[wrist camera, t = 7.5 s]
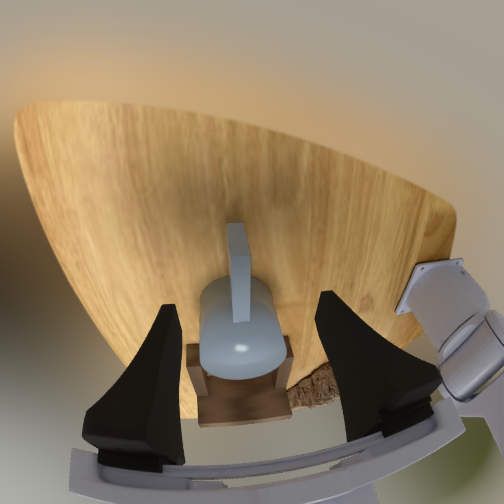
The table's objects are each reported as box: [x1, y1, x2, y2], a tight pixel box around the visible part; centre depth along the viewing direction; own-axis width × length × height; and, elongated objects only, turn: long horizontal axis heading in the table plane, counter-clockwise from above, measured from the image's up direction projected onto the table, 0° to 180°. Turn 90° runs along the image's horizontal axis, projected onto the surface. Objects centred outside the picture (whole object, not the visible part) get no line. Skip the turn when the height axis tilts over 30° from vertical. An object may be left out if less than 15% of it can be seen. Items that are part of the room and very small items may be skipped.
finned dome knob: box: [199, 222, 287, 380], centre depth 22 cm, size 7×13×6 cm, turn 179°
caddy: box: [186, 336, 294, 427], centre depth 29 cm, size 12×9×7 cm
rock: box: [287, 362, 340, 410], centre depth 36 cm, size 15×10×6 cm
